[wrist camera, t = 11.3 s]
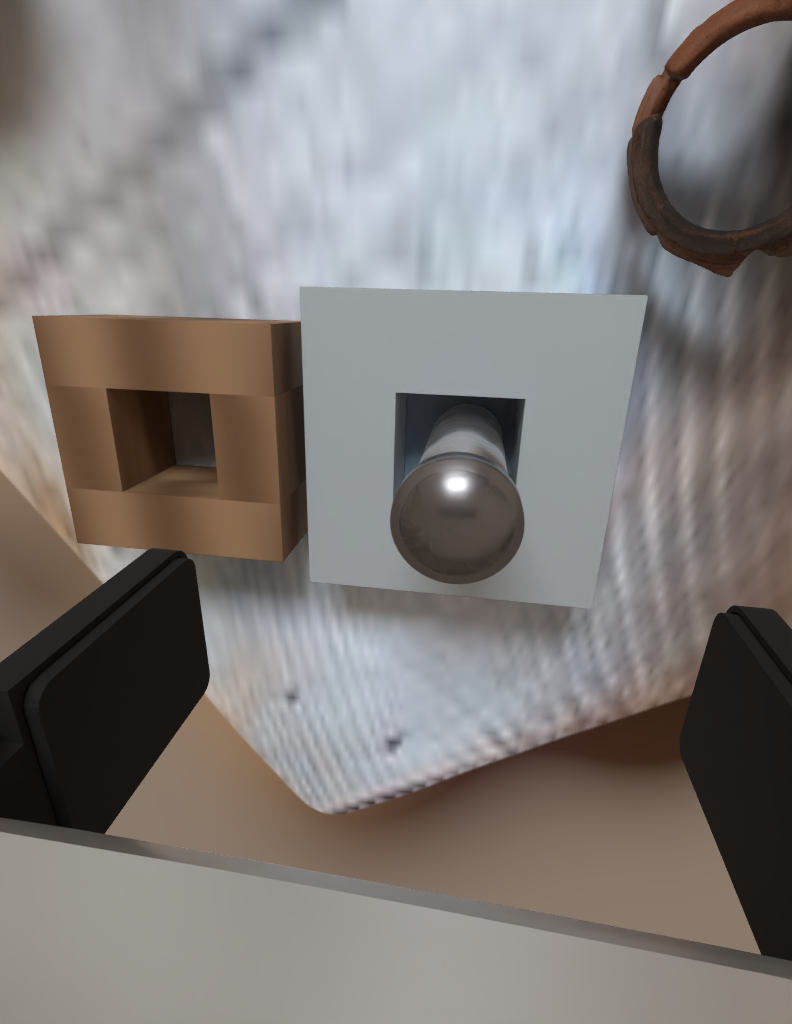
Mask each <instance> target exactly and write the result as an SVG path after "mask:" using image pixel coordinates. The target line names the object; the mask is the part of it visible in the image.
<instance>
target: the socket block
mask: <svg viewBox="0 0 792 1024" xmlns="http://www.w3.org/2000/svg"><path fill="white" fill-rule="evenodd" d="M647 298H648V295H615V294H574V293H534V292H494V291H453V290H413V289H373V288H333V287H300V307H301V337H302V366H303V396H304V425H305V454H306V484H307V513H308V542H309V572H310V582H320V583H330V584H340V585H351V586H361V587H371V588H382V589H392V590H402V591H413V592H423V593H433V594H444V595H454V596H464V597H475V598H485V599H495V600H506V601H516V602H526V603H537V604H547V605H557V606H568V607H578V608H588V609H592V605H593V599H594V594H595V588H596V583H597V577H598V571H599V566H600V560H601V555H602V549H603V544H604V538H605V532H606V527H607V521H608V516H609V510H610V505H611V499H612V493H613V488H614V482H615V477H616V471H617V466H618V460H619V454H620V449H621V443H622V438H623V432H624V427H625V421H626V415H627V410H628V404H629V399H630V393H631V388H632V382H633V376H634V371H635V365H636V360H637V354H638V349H639V343H640V337H641V332H642V326H643V321H644V315H645V310H646V304H647ZM407 393H416V394H436V395H457V396H477V397H497V398H517V399H518V406H517V415H516V425H515V434H514V443H513V453H512V462H511V472H510V477H511V479H512V480H513V482H514V483H515V485H516V487H517V489H518V492H519V494H520V498H521V502H522V507H523V512H524V520H525V526H524V534H523V539H522V542H521V545H520V547H519V549H518V551H517V553H516V554H515V556H514V557H513V559H512V560H511V561H510V562H509V563H508V564H507V565H506V566H505V567H504V568H503V569H502V570H501V571H499V572H498V573H496V574H495V575H493V576H491V577H489V578H487V579H485V580H482V581H479V582H475V583H470V584H448V583H442V582H439V581H435V580H433V579H430V578H428V577H426V576H424V575H422V574H420V573H419V572H418V571H416V570H415V569H413V568H412V567H411V566H410V565H409V564H408V563H407V562H406V561H405V560H404V558H403V557H402V556H401V554H400V553H399V551H398V550H397V548H396V545H395V543H394V541H393V538H392V534H391V528H390V513H391V508H392V504H393V501H394V499H395V496H396V494H397V492H398V490H399V487H400V485H401V484H402V482H403V480H404V465H405V435H406V405H407Z"/></svg>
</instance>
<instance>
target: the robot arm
mask: <svg viewBox="0 0 792 1024" xmlns="http://www.w3.org/2000/svg"><path fill="white" fill-rule="evenodd" d="M209 678H210V671H209V664H208V657H207V649H206V642H205V635H204V627H203V620H202V613H201V605H200V598H199V591H198V583H197V576H196V569H195V564H194V562H193V561H192V560H191V559H188V558H187V556H186V554H185V553H184V552H183V551H179V550H169V549H159V548H151V549H149V550H147V551H146V552H145V553H144V554H142V555H141V556H140V557H138V558H137V559H136V560H134V561H133V562H132V563H130V564H129V565H128V566H126V567H125V568H124V569H123V570H121V571H120V572H119V573H117V574H116V575H115V576H113V577H112V578H111V579H109V580H108V581H107V582H105V583H104V584H103V585H102V586H100V587H99V588H98V589H96V590H95V591H94V592H92V593H91V594H90V595H88V596H87V597H86V598H84V599H83V600H82V601H81V602H79V603H78V604H77V605H75V606H74V607H73V608H71V609H70V610H69V611H67V612H66V613H65V614H63V615H62V616H61V617H60V618H58V619H57V620H56V621H54V622H53V623H52V624H50V625H49V626H48V627H47V628H45V629H44V630H42V631H41V632H40V633H39V634H37V635H36V636H35V637H33V638H32V639H31V640H29V641H28V642H27V643H25V644H24V645H23V646H21V647H20V648H19V649H17V650H16V651H15V652H14V653H12V654H11V655H10V656H8V657H7V658H6V659H5V660H3V661H2V662H0V1024H792V629H791V628H790V627H789V626H788V625H787V624H786V622H785V621H784V620H783V619H782V618H781V617H780V616H779V614H778V613H777V612H775V611H774V610H772V609H765V608H755V607H745V606H735V605H734V606H732V607H730V608H729V609H728V610H727V612H726V613H719V614H717V616H716V617H715V619H714V622H713V625H712V629H711V632H710V636H709V639H708V642H707V646H706V649H705V653H704V656H703V659H702V663H701V666H700V670H699V673H698V676H697V680H696V683H695V687H694V690H693V693H692V697H691V700H690V704H689V707H688V711H687V714H686V718H685V721H684V724H683V728H682V731H681V735H680V753H681V757H682V760H683V762H684V765H685V767H686V769H687V772H688V774H689V777H690V780H691V782H692V785H693V787H694V789H695V792H696V794H697V797H698V799H699V802H700V804H701V807H702V809H703V811H704V814H705V817H706V819H707V821H708V824H709V826H710V829H711V831H712V834H713V836H714V839H715V841H716V844H717V846H718V849H719V851H720V854H721V856H722V858H723V861H724V863H725V866H726V868H727V871H728V873H729V875H730V878H731V881H732V883H733V885H734V888H735V891H736V893H737V895H738V898H739V900H740V903H741V905H742V908H743V910H744V913H745V915H746V918H747V920H748V922H749V925H750V928H751V930H752V932H753V935H754V937H755V940H756V942H757V945H758V947H759V950H760V952H761V955H759V954H754V953H749V952H744V951H740V950H734V949H730V948H725V947H720V946H715V945H710V944H705V943H700V942H694V941H689V940H684V939H678V938H673V937H668V936H662V935H656V934H652V933H646V932H641V931H636V930H630V929H625V928H620V927H614V926H609V925H604V924H598V923H593V922H587V921H582V920H577V919H572V918H566V917H561V916H555V915H550V914H545V913H539V912H534V911H529V910H523V909H518V908H513V907H508V906H502V905H497V904H491V903H485V902H481V901H475V900H470V899H464V898H459V897H453V896H448V895H442V894H437V893H431V892H426V891H420V890H414V889H409V888H404V887H398V886H392V885H387V884H382V883H377V882H371V881H366V880H360V879H354V878H349V877H343V876H337V875H332V874H327V873H321V872H315V871H310V870H305V869H299V868H293V867H288V866H282V865H277V864H271V863H266V862H260V861H254V860H249V859H243V858H237V857H231V856H226V855H220V854H215V853H208V852H203V851H198V850H192V849H186V848H180V847H175V846H169V845H163V844H157V843H151V842H146V841H140V840H135V839H129V838H123V837H118V836H112V835H106V834H105V832H106V831H107V829H108V828H109V827H110V825H111V824H112V823H113V821H114V820H115V818H116V817H117V816H118V814H119V813H120V811H121V810H122V809H123V807H124V806H125V804H126V803H127V801H128V800H129V799H130V797H131V796H132V794H133V793H134V791H135V790H136V789H137V787H138V786H139V785H140V783H141V782H142V780H143V779H144V778H145V776H146V775H147V773H148V772H149V770H150V769H151V767H152V766H153V765H154V763H155V762H156V760H157V759H158V758H159V756H160V755H161V753H162V752H163V751H164V749H165V748H166V746H167V745H168V744H169V742H170V741H171V739H172V738H173V737H174V735H175V734H176V732H177V731H178V730H179V728H180V727H181V725H182V724H183V723H184V721H185V720H186V718H187V717H188V715H189V714H190V713H191V711H192V710H193V708H194V707H195V706H196V704H197V703H198V701H199V700H200V699H201V697H202V696H203V694H204V693H205V691H206V689H207V686H208V683H209Z"/></svg>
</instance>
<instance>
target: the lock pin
mask: <svg viewBox="0 0 792 1024" xmlns="http://www.w3.org/2000/svg"><path fill="white" fill-rule="evenodd" d="M524 526H525V520H524V512H523V507H522V502H521V498H520V494H519V492H518V489H517V487H516V485H515V483H514V482H513V480H512V479H511V477H510V476H509V475H508V472H507V466H506V459H505V452H504V446H503V439H502V433H501V428H500V425H499V423H498V421H497V419H496V418H495V417H494V415H493V414H492V413H491V412H489V411H488V410H487V409H485V408H483V407H481V406H478V405H474V404H460V405H456V406H454V407H451V408H450V409H448V410H446V411H445V412H444V413H443V414H442V415H441V416H440V417H439V418H438V420H437V422H436V423H435V426H434V428H433V430H432V433H431V435H430V438H429V440H428V443H427V445H426V448H425V450H424V453H423V455H422V458H421V460H420V462H419V464H418V465H417V466H416V467H414V468H413V469H412V470H411V471H410V472H409V473H408V475H407V476H406V477H405V479H404V480H403V482H402V484H401V485H400V487H399V490H398V492H397V494H396V496H395V499H394V501H393V504H392V508H391V513H390V528H391V534H392V538H393V541H394V543H395V545H396V548H397V550H398V551H399V553H400V554H401V556H402V557H403V558H404V560H405V561H406V562H407V563H408V564H409V565H410V566H411V567H412V568H413V569H415V570H416V571H418V572H419V573H420V574H422V575H424V576H426V577H428V578H430V579H433V580H435V581H439V582H442V583H448V584H470V583H475V582H479V581H482V580H485V579H487V578H489V577H491V576H493V575H495V574H496V573H498V572H499V571H501V570H502V569H503V568H504V567H505V566H506V565H507V564H508V563H509V562H510V561H511V560H512V559H513V557H514V556H515V554H516V553H517V551H518V549H519V547H520V545H521V542H522V539H523V534H524Z"/></svg>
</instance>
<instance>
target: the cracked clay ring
mask: <svg viewBox="0 0 792 1024" xmlns="http://www.w3.org/2000/svg"><path fill="white" fill-rule="evenodd" d="M774 21H792V0H735V1H733V2H731V3H729V4H728V5H727V6H725V7H724V8H722V9H721V10H719V11H718V12H716V13H715V14H713V15H712V16H711V17H709V18H708V19H707V20H706V21H705V22H704V23H703V24H701V25H700V26H698V27H697V28H695V29H694V30H693V31H692V32H691V33H690V35H689V36H688V37H687V38H686V39H685V41H684V42H683V43H682V44H681V45H680V46H679V48H678V49H677V50H676V51H675V52H674V54H673V55H672V56H671V57H670V59H669V60H668V62H667V63H666V65H665V70H664V72H663V73H662V75H657V76H656V77H655V78H654V79H653V80H652V82H651V84H650V85H649V87H648V89H647V91H646V93H645V95H644V98H643V100H642V102H641V104H640V107H639V109H638V112H637V115H636V118H635V121H634V124H633V128H632V138H631V139H630V141H629V143H628V148H627V166H628V176H629V184H630V190H631V195H632V199H633V202H634V205H635V208H636V211H637V213H638V216H639V217H640V219H641V221H642V223H643V225H644V227H645V229H646V230H647V232H648V233H649V234H650V235H657V236H658V238H659V240H660V243H661V245H662V247H663V248H664V249H665V250H667V251H669V252H670V253H672V254H673V255H675V256H677V257H680V258H682V259H684V260H686V261H690V262H693V263H695V264H697V265H699V266H701V267H703V268H705V269H708V270H710V271H712V272H713V273H716V274H719V275H722V276H726V277H730V276H731V275H732V273H733V271H735V270H736V269H737V267H739V266H740V264H741V263H742V261H743V260H744V259H745V258H746V257H747V256H748V255H749V254H750V253H751V252H752V251H754V250H758V249H759V250H762V251H763V252H765V253H766V254H768V255H769V256H778V257H785V256H789V255H792V207H790V208H789V209H788V210H786V211H784V212H783V213H781V214H779V215H778V216H776V217H774V218H772V219H770V220H768V221H766V222H764V223H761V224H758V225H756V226H753V227H750V228H746V229H744V230H737V231H716V230H710V229H705V228H702V227H700V226H697V225H695V224H693V223H691V222H689V221H688V220H686V219H685V218H683V217H682V216H681V215H680V214H679V213H678V212H677V211H676V210H675V209H674V208H673V206H672V205H671V204H670V202H669V200H668V198H667V196H666V194H665V193H664V190H663V187H662V184H661V181H660V177H659V171H658V147H659V138H660V133H661V129H662V115H663V113H664V111H665V109H666V107H667V105H668V103H669V101H670V99H671V97H672V95H673V93H674V92H675V90H676V88H677V87H678V86H679V84H680V82H681V81H682V80H684V79H686V78H688V77H689V76H690V74H691V73H692V72H693V71H694V69H695V68H696V67H697V66H698V65H699V64H700V63H701V62H702V61H703V60H704V59H705V58H706V57H707V56H708V55H709V54H710V53H712V52H713V51H714V50H715V49H716V48H718V47H719V46H720V45H722V44H723V43H725V42H726V41H728V40H729V39H731V38H732V37H734V36H736V35H738V34H740V33H742V32H744V31H746V30H748V29H751V28H753V27H756V26H759V25H762V24H765V23H769V22H774Z"/></svg>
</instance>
